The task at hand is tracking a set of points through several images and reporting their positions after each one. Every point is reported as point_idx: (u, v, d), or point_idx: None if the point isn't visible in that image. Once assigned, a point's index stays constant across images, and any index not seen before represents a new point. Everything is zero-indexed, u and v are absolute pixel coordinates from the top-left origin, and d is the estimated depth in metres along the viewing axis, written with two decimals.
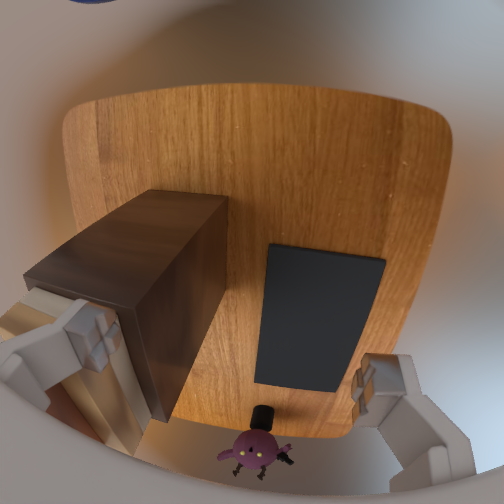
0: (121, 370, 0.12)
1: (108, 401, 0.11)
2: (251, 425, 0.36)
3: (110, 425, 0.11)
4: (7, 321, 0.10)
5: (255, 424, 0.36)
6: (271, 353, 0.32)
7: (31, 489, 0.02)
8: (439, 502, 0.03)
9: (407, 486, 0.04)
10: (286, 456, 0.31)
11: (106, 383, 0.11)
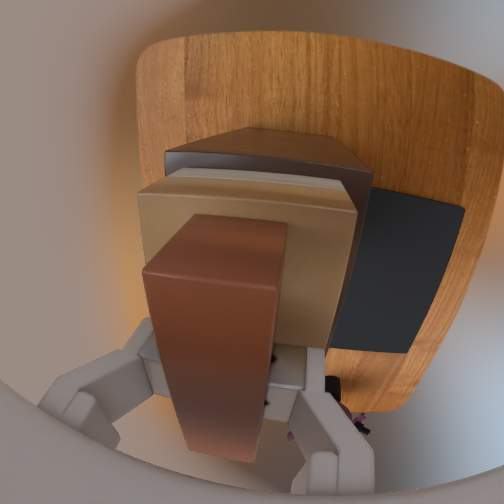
0: None
1: None
2: None
3: None
4: (167, 188, 0.08)
5: None
6: (355, 309, 0.31)
7: (31, 489, 0.02)
8: (439, 502, 0.03)
9: (297, 490, 0.05)
10: (362, 426, 0.29)
11: None
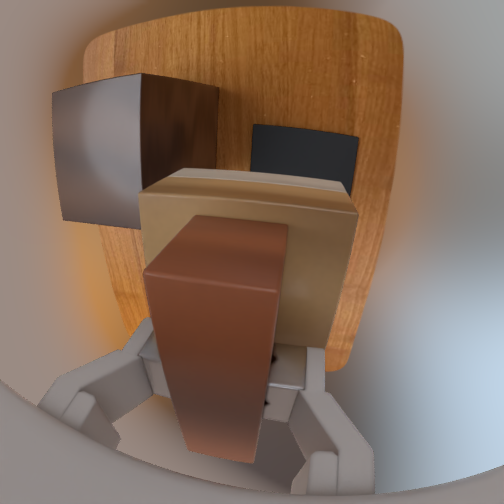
0: None
1: None
2: None
3: None
4: (167, 188, 0.08)
5: None
6: None
7: (31, 489, 0.02)
8: (439, 502, 0.03)
9: (297, 490, 0.05)
10: None
11: None
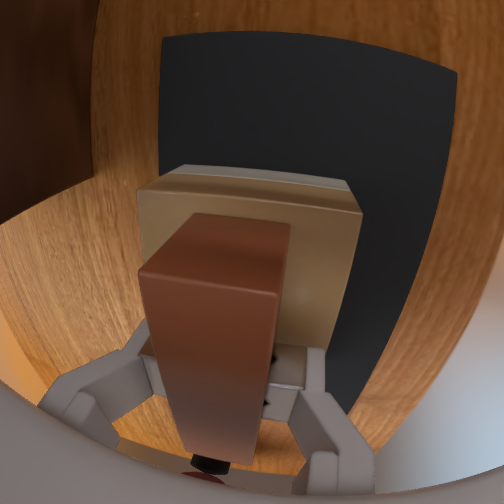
0: None
1: None
2: (192, 463, 0.19)
3: None
4: (166, 185, 0.08)
5: (197, 464, 0.18)
6: None
7: (31, 489, 0.02)
8: (439, 502, 0.03)
9: (297, 490, 0.05)
10: None
11: None
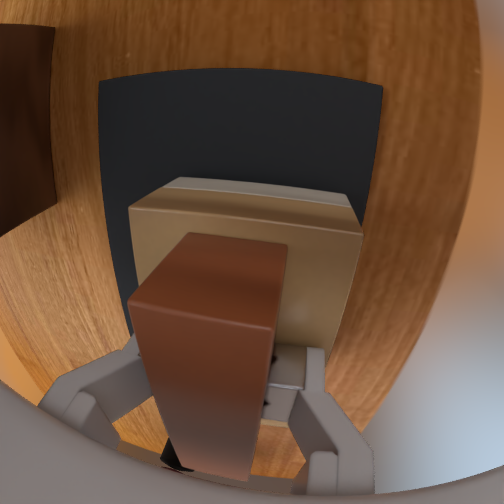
0: None
1: None
2: (162, 459, 0.20)
3: None
4: (159, 202, 0.07)
5: (166, 460, 0.19)
6: None
7: (31, 489, 0.02)
8: (439, 502, 0.03)
9: (297, 490, 0.05)
10: None
11: None
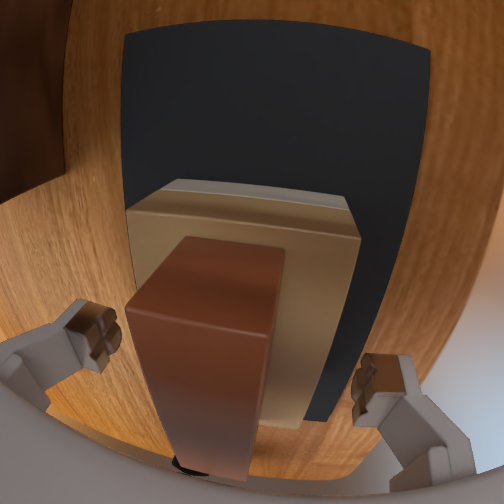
0: None
1: None
2: (173, 463, 0.18)
3: (322, 369, 0.09)
4: (157, 205, 0.07)
5: (178, 464, 0.18)
6: None
7: (31, 489, 0.02)
8: (439, 502, 0.03)
9: (407, 486, 0.04)
10: None
11: None
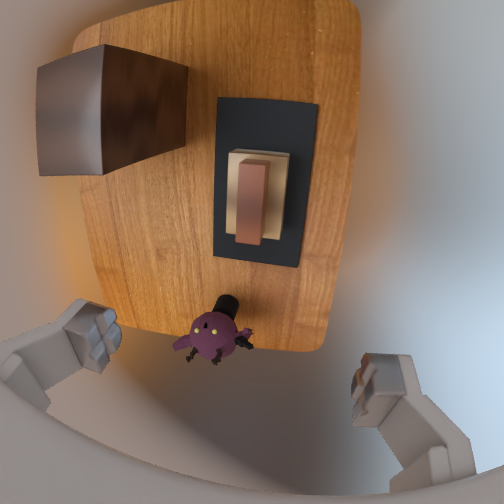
0: None
1: (285, 187, 0.30)
2: None
3: (283, 201, 0.30)
4: (236, 152, 0.28)
5: (216, 311, 0.39)
6: (226, 211, 0.35)
7: (31, 489, 0.02)
8: (439, 502, 0.03)
9: (407, 486, 0.04)
10: (245, 339, 0.34)
11: (286, 178, 0.30)
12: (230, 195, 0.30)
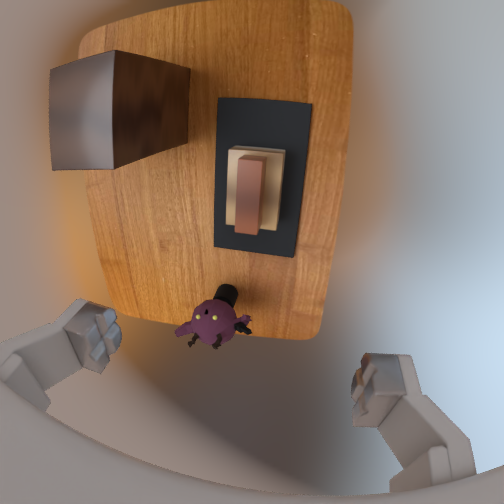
0: (282, 175, 0.33)
1: (281, 181, 0.32)
2: None
3: (279, 194, 0.32)
4: (236, 148, 0.31)
5: None
6: None
7: (31, 489, 0.02)
8: (439, 502, 0.03)
9: (407, 486, 0.04)
10: (244, 325, 0.36)
11: (282, 173, 0.32)
12: (230, 189, 0.32)
